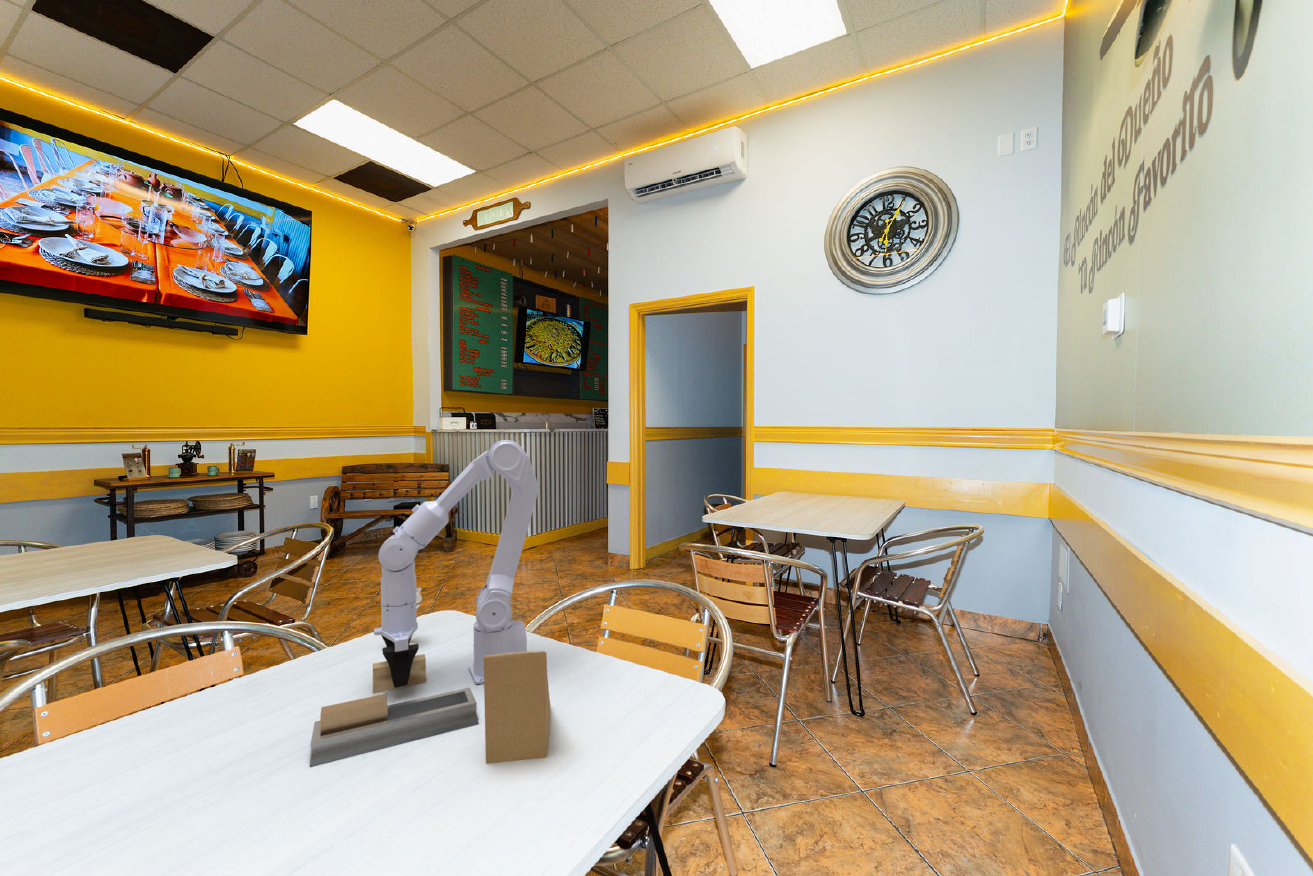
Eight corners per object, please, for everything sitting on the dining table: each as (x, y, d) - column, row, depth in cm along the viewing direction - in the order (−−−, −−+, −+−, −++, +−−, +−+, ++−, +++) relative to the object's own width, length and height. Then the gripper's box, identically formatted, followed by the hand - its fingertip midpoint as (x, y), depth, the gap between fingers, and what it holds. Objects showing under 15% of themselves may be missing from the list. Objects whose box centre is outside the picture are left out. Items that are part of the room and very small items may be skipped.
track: (468, 699, 91) (468, 668, 91) (478, 723, 83) (478, 689, 83) (315, 734, 80) (315, 699, 80) (310, 766, 72) (309, 727, 72)
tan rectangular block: (424, 678, 99) (424, 654, 99) (425, 683, 97) (425, 658, 97) (372, 688, 95) (372, 663, 95) (373, 694, 93) (372, 668, 93)
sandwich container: (552, 704, 89) (551, 614, 89) (548, 758, 74) (547, 651, 74) (498, 708, 88) (498, 617, 88) (483, 765, 73) (483, 655, 73)
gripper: (373, 594, 100) (373, 666, 101) (374, 617, 88) (375, 699, 88) (414, 589, 104) (414, 659, 104) (421, 610, 91) (421, 689, 91)
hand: (399, 677), depth 96 cm, fingers open, 7 cm apart
